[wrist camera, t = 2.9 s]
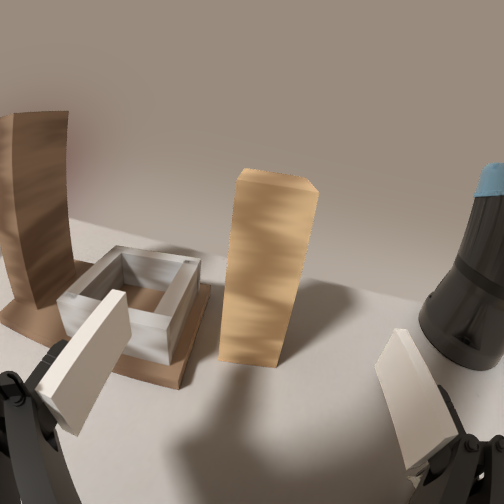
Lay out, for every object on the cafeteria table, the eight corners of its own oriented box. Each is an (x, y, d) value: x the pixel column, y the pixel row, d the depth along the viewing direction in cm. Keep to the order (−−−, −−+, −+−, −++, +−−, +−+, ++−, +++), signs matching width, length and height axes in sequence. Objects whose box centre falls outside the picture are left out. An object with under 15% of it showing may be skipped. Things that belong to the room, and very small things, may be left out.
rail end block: (275, 323, 28) (305, 177, 22) (276, 367, 22) (319, 192, 16) (227, 316, 28) (244, 167, 22) (218, 360, 22) (236, 179, 16)
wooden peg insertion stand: (210, 293, 31) (228, 109, 23) (178, 390, 18) (185, 82, 10) (65, 265, 31) (57, 114, 23) (1, 323, 18) (-34, 125, 10)
